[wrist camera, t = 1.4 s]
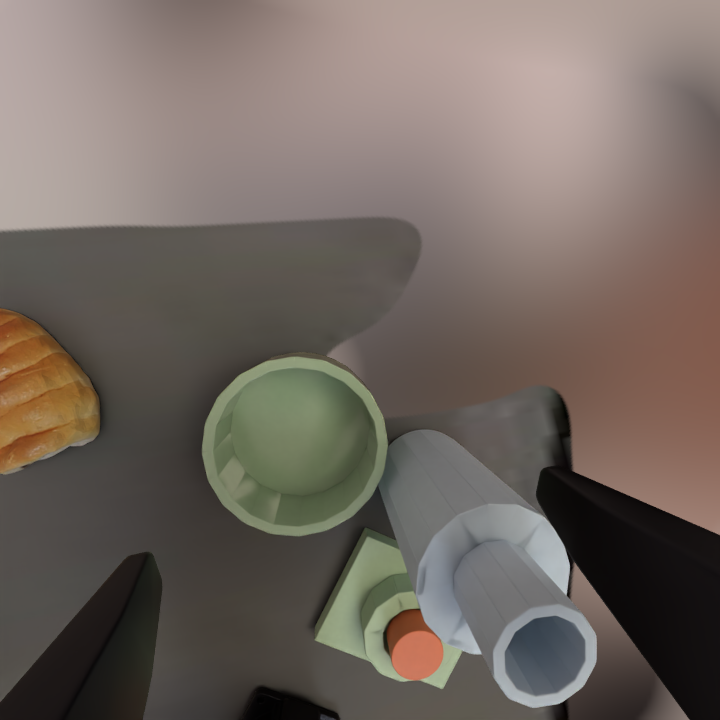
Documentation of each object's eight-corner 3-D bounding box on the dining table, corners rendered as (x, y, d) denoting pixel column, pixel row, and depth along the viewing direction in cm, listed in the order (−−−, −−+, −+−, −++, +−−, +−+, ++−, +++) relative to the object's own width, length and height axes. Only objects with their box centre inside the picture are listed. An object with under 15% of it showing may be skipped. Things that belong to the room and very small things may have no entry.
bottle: (441, 532, 26) (582, 776, 12) (361, 496, 26) (409, 712, 11) (482, 452, 26) (676, 603, 12) (402, 413, 25) (506, 526, 11)
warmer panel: (437, 674, 27) (451, 716, 24) (314, 626, 26) (313, 665, 23) (487, 578, 27) (507, 609, 24) (365, 526, 26) (370, 552, 23)
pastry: (-60, 337, 22) (-138, 339, 18) (48, 290, 23) (-7, 282, 19) (24, 473, 23) (-34, 500, 20) (125, 425, 24) (88, 443, 20)
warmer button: (421, 661, 24) (428, 687, 22) (377, 645, 24) (382, 670, 22) (443, 619, 24) (452, 641, 22) (400, 601, 24) (406, 623, 22)
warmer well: (336, 521, 26) (338, 562, 21) (198, 463, 24) (170, 493, 20) (401, 391, 25) (417, 405, 21) (265, 325, 24) (252, 325, 20)
